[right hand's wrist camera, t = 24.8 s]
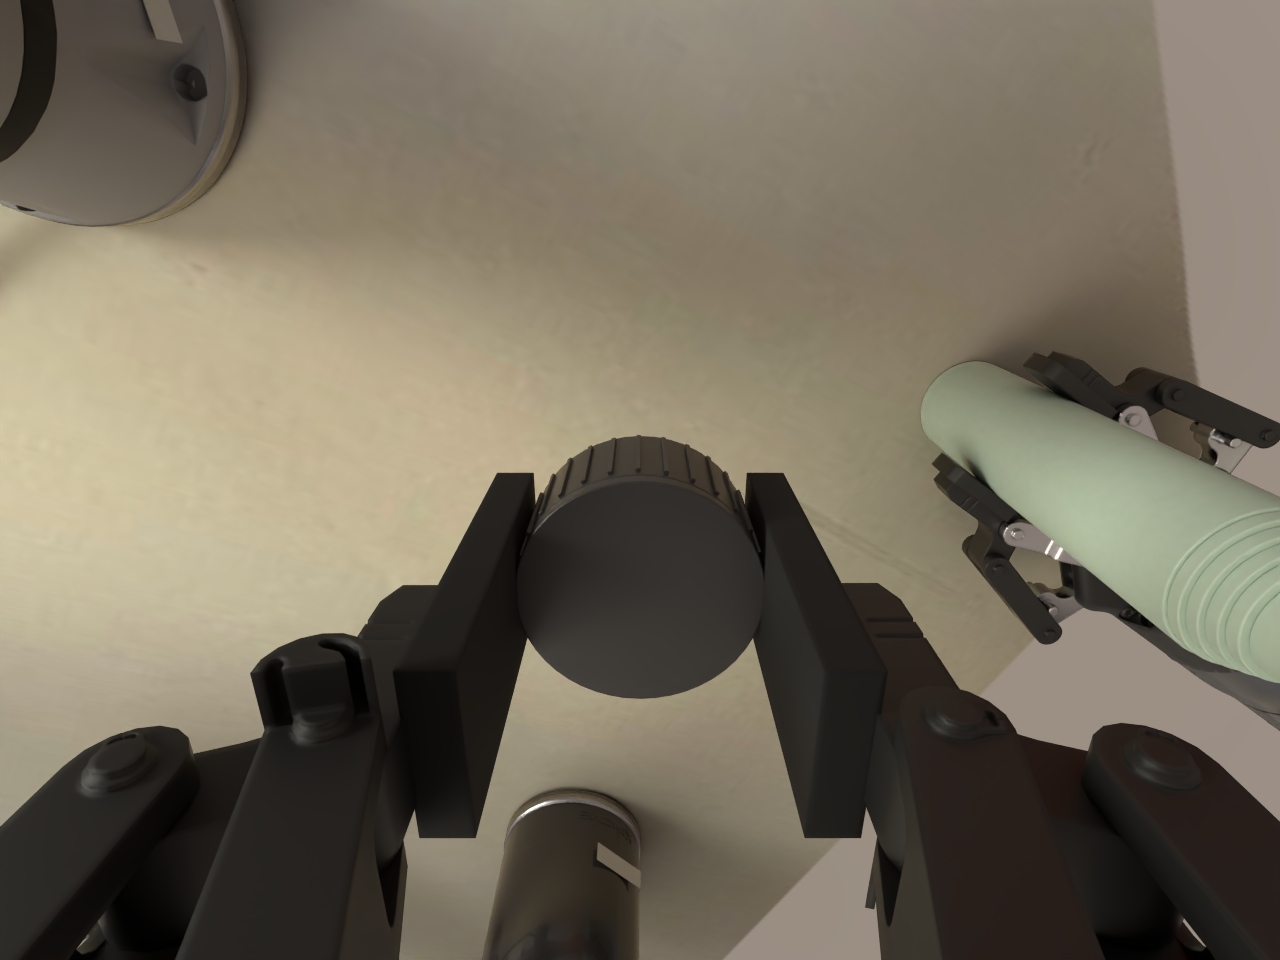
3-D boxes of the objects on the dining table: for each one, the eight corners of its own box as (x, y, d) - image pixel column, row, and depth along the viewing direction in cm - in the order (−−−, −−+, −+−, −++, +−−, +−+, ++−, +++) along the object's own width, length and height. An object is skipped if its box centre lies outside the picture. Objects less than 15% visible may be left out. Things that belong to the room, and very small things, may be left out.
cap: (586, 655, 16) (576, 730, 14) (493, 481, 14) (464, 535, 12) (778, 587, 15) (802, 655, 13) (703, 397, 14) (716, 437, 11)
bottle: (906, 441, 38) (1275, 773, 16) (940, 352, 36) (1410, 588, 14) (992, 459, 38) (1468, 806, 16) (1030, 371, 36) (1623, 631, 14)
